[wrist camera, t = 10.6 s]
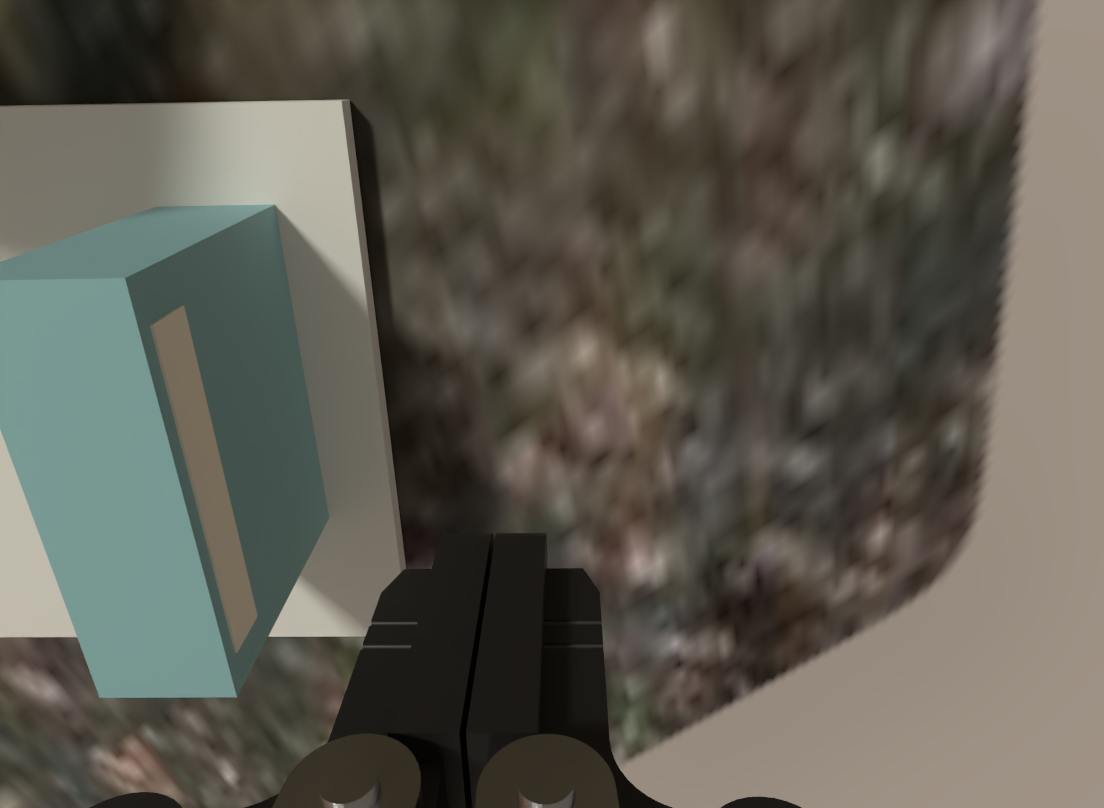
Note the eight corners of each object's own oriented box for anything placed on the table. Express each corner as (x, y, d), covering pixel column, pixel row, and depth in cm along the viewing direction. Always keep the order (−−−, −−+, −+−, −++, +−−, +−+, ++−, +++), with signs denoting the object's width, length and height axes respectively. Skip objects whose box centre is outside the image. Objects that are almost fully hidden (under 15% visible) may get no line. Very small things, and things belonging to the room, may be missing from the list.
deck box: (153, 206, 16) (-59, 281, 11) (276, 204, 16) (128, 277, 11) (228, 518, 19) (97, 698, 14) (331, 517, 19) (239, 697, 14)
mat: (-254, 109, 16) (-283, 111, 15) (349, 99, 16) (342, 101, 15) (-30, 622, 22) (-45, 637, 21) (412, 621, 22) (408, 636, 21)
